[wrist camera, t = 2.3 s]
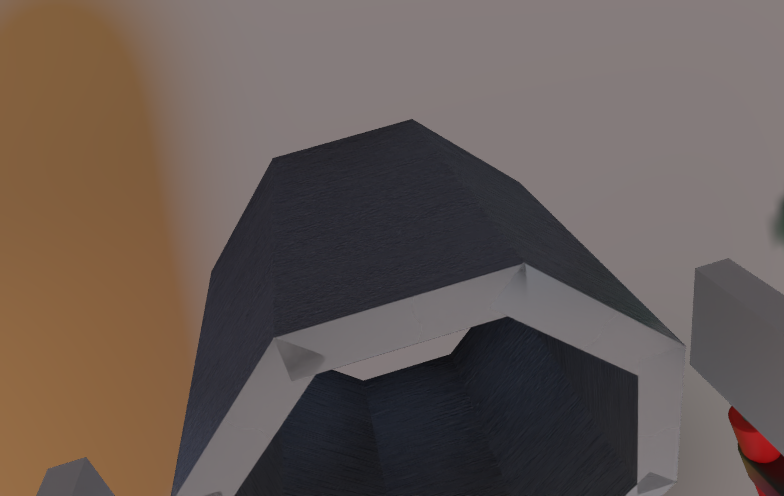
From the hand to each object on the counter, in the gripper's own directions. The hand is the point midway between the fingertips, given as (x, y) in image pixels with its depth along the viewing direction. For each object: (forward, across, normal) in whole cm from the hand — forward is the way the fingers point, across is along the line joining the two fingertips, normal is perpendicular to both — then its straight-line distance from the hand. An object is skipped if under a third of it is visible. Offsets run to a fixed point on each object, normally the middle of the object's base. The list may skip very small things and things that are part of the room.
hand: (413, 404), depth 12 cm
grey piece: (+4, 0, -1) cm, 4 cm away
